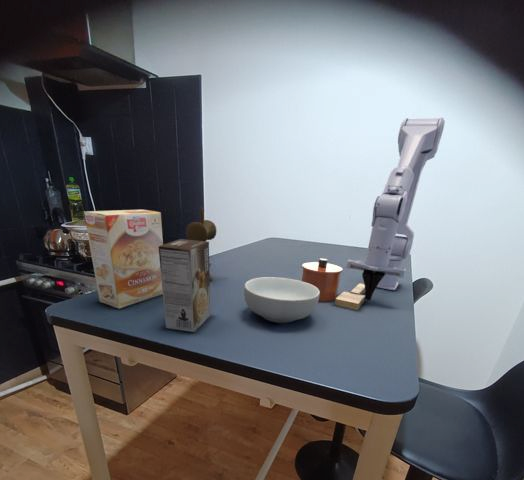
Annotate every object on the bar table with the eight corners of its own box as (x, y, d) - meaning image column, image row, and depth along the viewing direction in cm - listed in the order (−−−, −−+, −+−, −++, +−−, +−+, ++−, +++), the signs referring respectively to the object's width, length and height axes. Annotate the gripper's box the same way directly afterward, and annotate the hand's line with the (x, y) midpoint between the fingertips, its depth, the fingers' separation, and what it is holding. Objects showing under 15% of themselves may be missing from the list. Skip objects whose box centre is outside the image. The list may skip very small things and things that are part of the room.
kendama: (187, 283, 91) (184, 207, 81) (199, 274, 99) (197, 205, 90) (207, 285, 90) (206, 209, 81) (217, 277, 98) (218, 207, 89)
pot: (307, 287, 95) (311, 262, 91) (340, 294, 91) (345, 268, 87) (294, 296, 87) (297, 268, 83) (329, 304, 83) (334, 275, 79)
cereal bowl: (305, 338, 64) (310, 304, 60) (230, 322, 68) (231, 290, 65) (321, 311, 78) (326, 283, 75) (258, 299, 82) (260, 272, 79)
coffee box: (183, 312, 71) (179, 238, 64) (210, 316, 70) (210, 241, 63) (164, 328, 63) (157, 245, 56) (194, 333, 62) (191, 249, 55)
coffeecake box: (119, 309, 70) (104, 214, 61) (98, 302, 73) (81, 210, 64) (168, 293, 82) (162, 211, 73) (148, 287, 85) (140, 208, 76)
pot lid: (309, 264, 92) (311, 253, 91) (346, 270, 88) (348, 259, 86) (295, 271, 83) (296, 259, 82) (335, 278, 79) (337, 266, 78)
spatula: (352, 288, 98) (353, 282, 97) (371, 292, 95) (373, 285, 94) (334, 305, 82) (335, 297, 82) (357, 310, 80) (358, 302, 79)
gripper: (347, 244, 79) (337, 296, 86) (409, 254, 74) (393, 308, 80) (354, 241, 85) (344, 290, 91) (411, 249, 79) (397, 301, 86)
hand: (368, 298), depth 86 cm, fingers closed
